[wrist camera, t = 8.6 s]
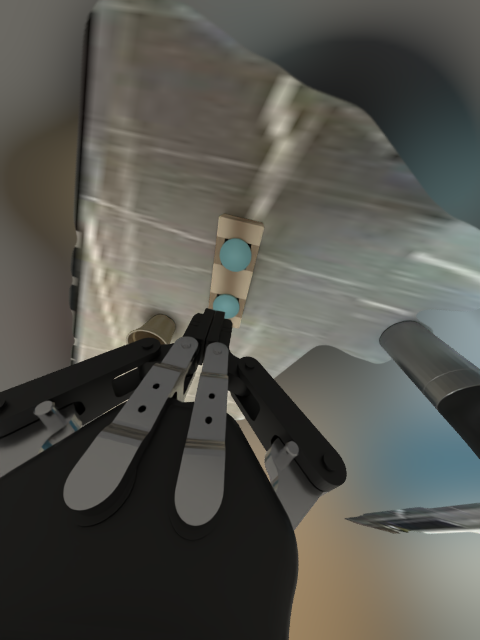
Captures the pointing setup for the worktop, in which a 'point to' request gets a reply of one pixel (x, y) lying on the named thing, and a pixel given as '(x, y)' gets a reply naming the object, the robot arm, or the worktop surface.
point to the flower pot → (154, 330)
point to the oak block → (230, 280)
